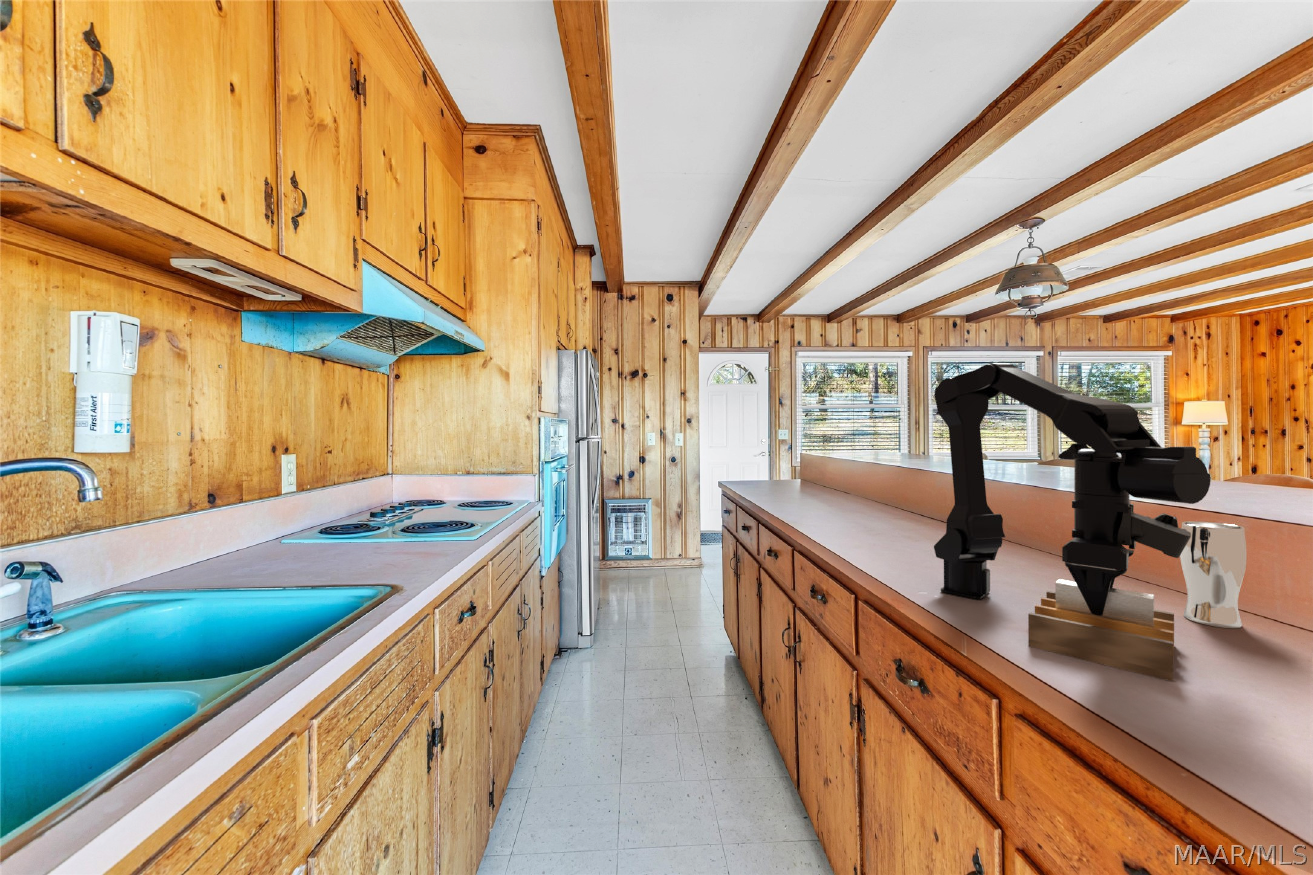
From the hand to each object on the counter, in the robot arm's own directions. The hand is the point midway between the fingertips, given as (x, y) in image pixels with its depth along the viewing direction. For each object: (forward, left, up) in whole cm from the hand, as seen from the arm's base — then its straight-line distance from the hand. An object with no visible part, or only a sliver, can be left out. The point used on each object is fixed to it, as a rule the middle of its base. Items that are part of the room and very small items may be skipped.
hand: (1100, 606), depth 70 cm
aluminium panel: (0, 0, -4) cm, 5 cm away
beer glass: (+11, +24, -6) cm, 27 cm away
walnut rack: (0, 0, -6) cm, 6 cm away
